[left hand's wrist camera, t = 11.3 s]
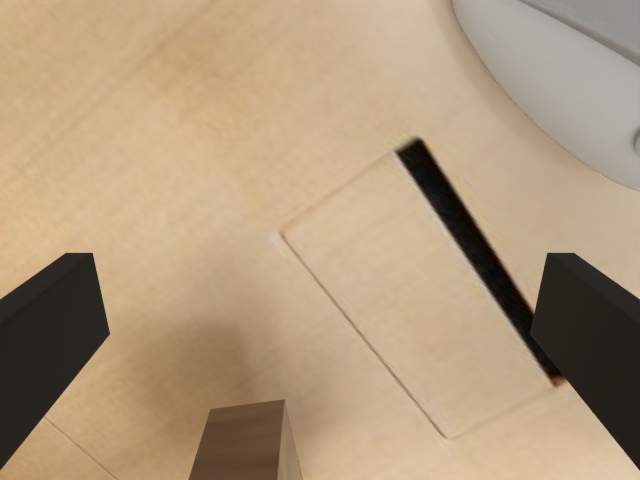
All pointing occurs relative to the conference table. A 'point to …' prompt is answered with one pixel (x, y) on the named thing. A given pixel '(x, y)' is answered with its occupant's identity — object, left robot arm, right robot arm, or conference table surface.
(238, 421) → the box
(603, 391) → the left robot arm
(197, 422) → the conference table surface
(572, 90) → the projector
